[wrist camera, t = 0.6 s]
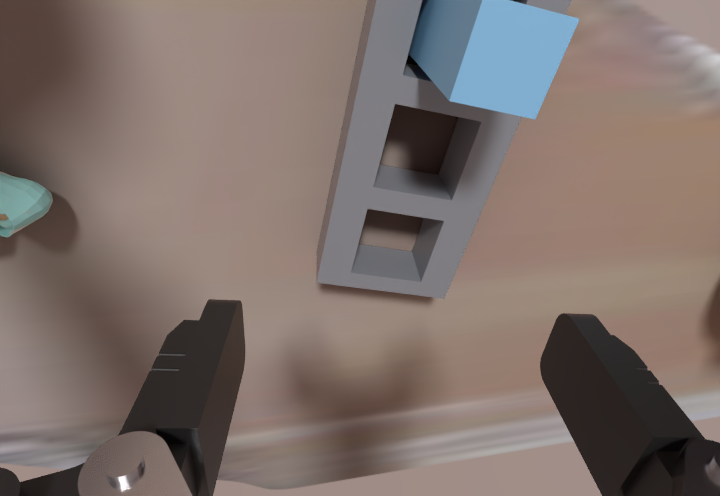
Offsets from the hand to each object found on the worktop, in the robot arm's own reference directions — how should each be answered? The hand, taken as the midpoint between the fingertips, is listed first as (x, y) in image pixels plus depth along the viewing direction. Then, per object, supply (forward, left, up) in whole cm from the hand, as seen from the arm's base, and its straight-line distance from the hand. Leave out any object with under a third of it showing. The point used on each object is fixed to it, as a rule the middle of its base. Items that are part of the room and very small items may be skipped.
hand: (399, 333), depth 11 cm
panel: (+2, +5, -21) cm, 22 cm away
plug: (-5, +5, -21) cm, 23 cm away
